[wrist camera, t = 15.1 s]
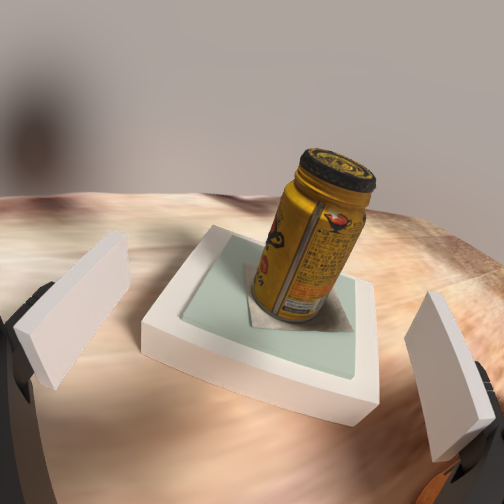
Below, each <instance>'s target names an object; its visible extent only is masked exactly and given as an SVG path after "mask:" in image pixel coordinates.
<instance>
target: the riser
mask: <svg viewBox="0 0 504 504" xmlns="http://www.w3.org/2000/svg"><path fill="white" fill-rule="evenodd" d="M265 245H266V244H264V243H262V242H259V241H256V240H253V239H251V238H248V237H245V236H242V235H240V234H237V233H234V232H231V231H229V230H226V229H223V228H220V227H217V226H215V225H212V227H211V228H210V229H209V231H208V232H207V233H206V234H205V236H204V237H203V238H202V240H201V241H200V242H199V244H198V245H197V246H196V248H195V249H194V250H193V251H192V253H191V254H190V255H189V257H188V258H187V259H186V261H185V262H184V263H183V265H182V266H181V267H180V269H179V270H178V271H177V273H176V274H175V275H174V277H173V278H172V280H171V281H170V282H169V284H168V285H167V286H166V288H165V289H164V290H163V292H162V293H161V294H160V296H159V297H158V299H157V300H156V301H155V303H154V304H153V305H152V307H151V308H150V310H149V311H148V312H147V314H146V315H145V317H144V318H143V319H142V321H141V354H143V355H146V356H148V357H150V358H152V359H154V360H156V361H159V362H161V363H163V364H165V365H168V366H170V367H172V368H175V369H177V370H179V371H182V372H184V373H186V374H189V375H191V376H194V377H196V378H199V379H201V380H204V381H206V382H209V383H211V384H214V385H216V386H219V387H222V388H224V389H227V390H230V391H233V392H235V393H238V394H241V395H244V396H247V397H250V398H252V399H255V400H258V401H261V402H264V403H268V404H271V405H274V406H277V407H280V408H283V409H287V410H290V411H293V412H297V413H300V414H304V415H307V416H311V417H315V418H318V419H322V420H326V421H330V422H334V423H338V424H342V425H346V426H351V427H354V426H355V425H356V424H357V423H359V422H360V421H361V420H362V419H363V418H364V417H366V416H367V415H368V414H369V413H370V412H371V411H372V410H373V409H375V408H376V407H377V406H378V405H379V361H378V340H377V324H376V311H375V299H374V289H373V284H372V283H370V282H367V281H364V280H362V279H359V278H356V277H354V276H351V275H348V274H346V273H343V272H341V273H340V275H339V277H338V278H337V280H336V282H335V284H334V288H335V290H336V293H337V296H338V299H339V300H340V303H341V305H342V308H343V310H344V312H345V314H346V316H347V319H348V320H349V323H350V325H351V326H352V328H353V330H354V332H322V331H297V330H296V331H288V330H282V329H281V330H275V329H266V328H256V327H252V320H251V313H250V308H249V302H248V295H247V289H246V281H245V274H244V265H243V263H245V264H247V265H252V266H258V265H259V262H260V258H261V255H262V252H263V250H264V247H265Z"/></svg>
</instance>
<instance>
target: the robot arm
mask: <svg viewBox="0 0 504 504" xmlns="http://www.w3.org/2000/svg"><path fill="white" fill-rule="evenodd" d="M129 287H130V276H129V264H128V251H127V236H126V234H124V233H119V232H114V231H111V232H110V233H109V234H108V235H107V236H105V237H104V238H103V239H102V240H101V241H100V242H99V243H98V244H96V245H95V246H94V247H93V248H92V249H91V250H90V251H89V252H88V253H86V254H85V255H84V256H83V257H82V258H81V259H80V260H79V261H78V262H77V263H76V264H75V265H74V266H72V267H71V268H70V269H69V270H68V271H67V272H66V273H65V274H64V275H63V276H62V277H61V278H60V279H59V280H58V281H57V282H56V283H55V282H52V281H51V282H49V283H47V284H46V285H44V286H42V287H40V288H39V289H38V290H37V291H36V292H35V293H34V294H33V295H32V297H30V298H29V299H28V300H27V301H26V303H25V304H23V305H22V306H21V307H20V308H19V309H18V310H17V311H16V312H15V313H14V314H13V315H12V316H11V317H10V319H9V320H8V321H7V322H6V323H5V324H3V321H2V319H1V316H0V504H57V502H56V499H55V495H54V492H53V489H52V485H51V482H50V478H49V474H48V470H47V466H46V462H45V458H44V453H43V449H42V444H41V439H40V434H39V428H38V423H37V417H36V410H35V403H34V395H33V387H32V382H31V380H30V378H31V376H32V375H33V374H34V373H35V375H36V377H37V379H38V381H39V383H41V384H43V385H45V386H47V387H49V388H51V389H53V390H55V391H56V389H57V388H58V386H59V385H60V383H61V382H62V380H63V379H64V377H65V376H66V374H67V373H68V371H69V370H70V368H71V367H72V365H73V364H74V363H75V361H76V360H77V358H78V357H79V355H80V354H81V352H82V351H83V350H84V348H85V347H86V345H87V344H88V343H89V341H90V340H91V338H92V337H93V336H94V334H95V333H96V331H97V330H98V329H99V327H100V326H101V325H102V323H103V322H104V320H105V319H106V318H107V316H108V315H109V314H110V312H111V311H112V310H113V308H114V307H115V306H116V304H117V303H118V302H119V300H120V299H121V298H122V296H123V295H124V294H125V293H126V291H127V290H128V289H129ZM404 339H405V343H406V346H407V350H408V353H409V357H410V361H411V364H412V368H413V372H414V376H415V380H416V384H417V388H418V392H419V397H420V401H421V405H422V410H423V415H424V419H425V424H426V429H427V434H428V440H429V445H430V451H431V457H432V463H433V462H443V461H449V460H451V459H452V458H453V457H454V456H455V455H457V454H458V453H459V456H460V460H459V461H458V462H457V463H455V464H454V465H453V466H452V467H450V468H449V469H448V470H446V472H445V473H444V474H443V475H447V474H448V473H449V472H451V473H450V475H449V477H448V479H447V480H446V482H445V484H444V486H443V487H442V489H441V491H440V492H439V494H438V496H437V497H436V499H435V500H434V502H433V504H504V417H503V414H502V411H501V409H500V406H499V403H498V400H497V398H496V395H495V393H494V392H493V388H492V385H491V383H490V380H489V378H488V375H487V373H486V371H485V369H484V368H483V367H482V366H481V364H480V363H479V362H478V361H474V360H473V357H472V355H471V353H470V350H469V348H468V346H467V344H466V342H465V339H464V337H463V335H462V333H461V331H460V329H459V327H458V324H457V322H456V320H455V318H454V316H453V314H452V312H451V310H450V308H449V306H448V304H447V302H446V300H445V298H444V297H443V295H442V293H436V292H431V291H428V292H427V294H426V296H425V298H424V300H423V302H422V304H421V306H420V308H419V310H418V312H417V314H416V316H415V318H414V320H413V322H412V324H411V326H410V328H409V330H408V332H407V334H406V335H405V337H404Z"/></svg>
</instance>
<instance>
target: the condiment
mask: <svg viewBox="0 0 504 504" xmlns="http://www.w3.org/2000/svg"><path fill="white" fill-rule="evenodd" d="M375 188H376V178H375V176H374V175H373V174H372V172H370V170H368V169H367V168H365V167H364V166H363V165H361V164H359V163H357V162H355V161H353V160H352V159H349V158H347V157H345V156H343V155H340V154H337V153H334V152H332V151H327V150H324V149H323V150H322V149H318V148H311V149H307V150H306V151H305V152H304V153H303V155H302V156H301V158H300V163H299V166H298V169H297V171H296V172H295V179H294V180H293V181H291V182H290V183H289V184H287V185H286V187H285V189H284V192H283V195H282V196H281V198H280V199H281V200H280V204H279V207H278V209H277V213H276V215H275V218H274V221H273V224H272V227H271V230H270V232H269V234H268V238H267V241H266V245H265V247H264V250H263V252H262V255H261V258H260V262H259V265H258V266H252V265H247V264H245V263H243V265H244V274H245V281H246V289H247V295H248V302H249V308H250V313H251V320H252V327H256V328H266V329H275V330H281V329H282V330H288V331H296V330H297V331H322V332H354V330H353V328H352V326H351V325H350V323H349V320H348V319H347V316H346V314H345V312H344V310H343V308H342V305H341V303H340V300H339V299H338V296H337V293H336V290H335V288H334V284H335V282H336V280H337V278H338V277H339V275H340V273H341V271H342V269H343V267H344V265H345V263H346V261H347V259H348V257H349V255H350V253H351V251H352V249H353V247H354V245H355V243H356V241H357V239H358V237H359V235H360V233H361V231H362V229H363V227H364V225H365V222H366V214H365V207H367V206H368V205H369V202H370V198H371V193H372V192H373V190H374V189H375Z"/></svg>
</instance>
